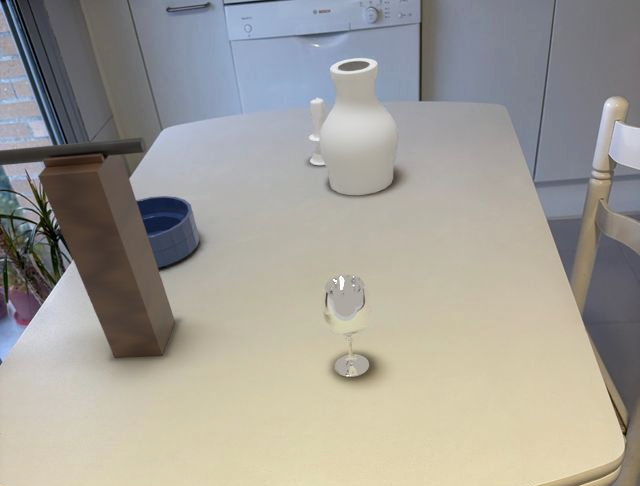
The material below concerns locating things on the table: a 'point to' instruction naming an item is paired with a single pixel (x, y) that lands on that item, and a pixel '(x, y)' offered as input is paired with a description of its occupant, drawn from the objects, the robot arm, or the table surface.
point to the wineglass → (347, 318)
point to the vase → (358, 132)
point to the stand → (110, 250)
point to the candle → (317, 128)
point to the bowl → (169, 228)
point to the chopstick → (73, 150)
